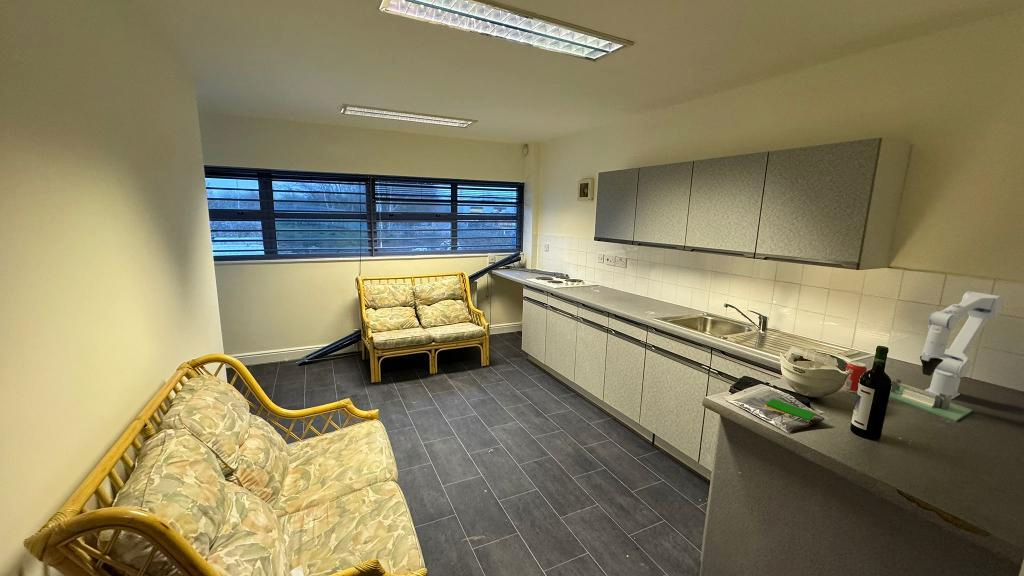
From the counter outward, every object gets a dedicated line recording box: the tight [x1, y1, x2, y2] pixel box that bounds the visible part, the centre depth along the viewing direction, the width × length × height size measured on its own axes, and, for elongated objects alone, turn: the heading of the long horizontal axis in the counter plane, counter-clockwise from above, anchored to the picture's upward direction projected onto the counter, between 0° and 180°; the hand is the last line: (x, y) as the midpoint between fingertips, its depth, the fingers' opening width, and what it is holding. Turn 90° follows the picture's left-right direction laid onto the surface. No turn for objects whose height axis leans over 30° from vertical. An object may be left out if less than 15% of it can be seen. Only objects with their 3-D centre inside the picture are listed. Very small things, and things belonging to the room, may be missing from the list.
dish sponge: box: [764, 398, 816, 421], centre depth 146 cm, size 7×14×2 cm, turn 39°
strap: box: [897, 382, 944, 400], centre depth 157 cm, size 3×14×1 cm, turn 28°
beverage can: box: [842, 360, 868, 394], centre depth 164 cm, size 6×6×12 cm
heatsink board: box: [889, 378, 973, 422], centre depth 157 cm, size 16×24×6 cm, turn 28°
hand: (926, 374), depth 158 cm, fingers closed
